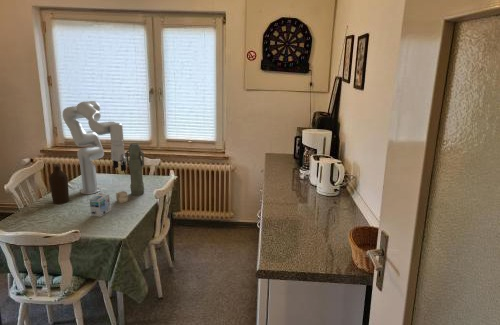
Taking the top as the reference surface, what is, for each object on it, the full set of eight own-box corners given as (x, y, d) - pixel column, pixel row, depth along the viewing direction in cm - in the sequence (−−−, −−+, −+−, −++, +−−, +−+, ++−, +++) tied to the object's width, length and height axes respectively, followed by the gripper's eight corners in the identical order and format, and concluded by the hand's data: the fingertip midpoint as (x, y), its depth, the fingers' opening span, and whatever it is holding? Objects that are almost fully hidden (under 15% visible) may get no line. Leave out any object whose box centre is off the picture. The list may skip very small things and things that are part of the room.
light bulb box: (101, 217, 216) (99, 199, 214) (90, 216, 218) (88, 198, 215) (111, 210, 226) (109, 193, 224) (101, 209, 228) (99, 192, 225)
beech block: (116, 201, 242) (115, 192, 240) (123, 199, 246) (123, 190, 244) (120, 203, 239) (119, 194, 237) (127, 201, 242) (126, 192, 241)
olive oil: (73, 198, 245) (68, 162, 239) (65, 204, 235) (61, 166, 229) (56, 198, 245) (52, 162, 239) (48, 204, 235) (43, 166, 228)
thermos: (144, 195, 253) (141, 145, 244) (127, 195, 252) (123, 145, 243) (147, 191, 261) (144, 142, 252) (131, 191, 261) (127, 142, 252)
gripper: (105, 141, 235) (107, 167, 240) (118, 145, 224) (121, 172, 228) (116, 140, 241) (118, 165, 245) (130, 143, 229) (132, 170, 233)
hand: (119, 169), depth 236 cm, fingers open, 9 cm apart
